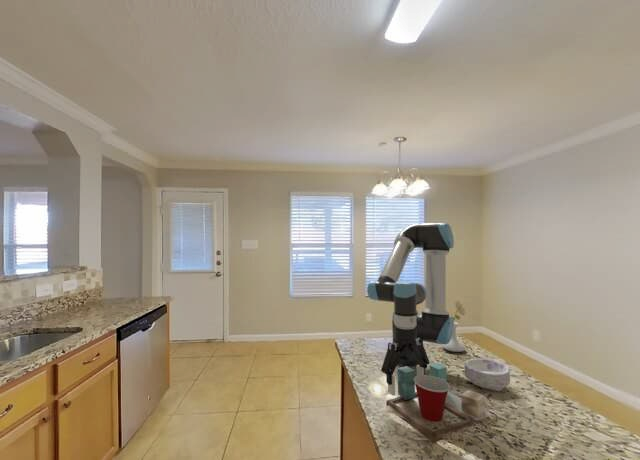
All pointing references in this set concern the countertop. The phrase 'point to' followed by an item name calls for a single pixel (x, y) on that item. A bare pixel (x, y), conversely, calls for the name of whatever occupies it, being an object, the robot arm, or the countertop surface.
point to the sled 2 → (452, 399)
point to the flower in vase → (454, 342)
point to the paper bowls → (487, 373)
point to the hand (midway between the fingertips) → (406, 389)
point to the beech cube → (473, 403)
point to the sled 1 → (408, 391)
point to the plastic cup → (431, 396)
